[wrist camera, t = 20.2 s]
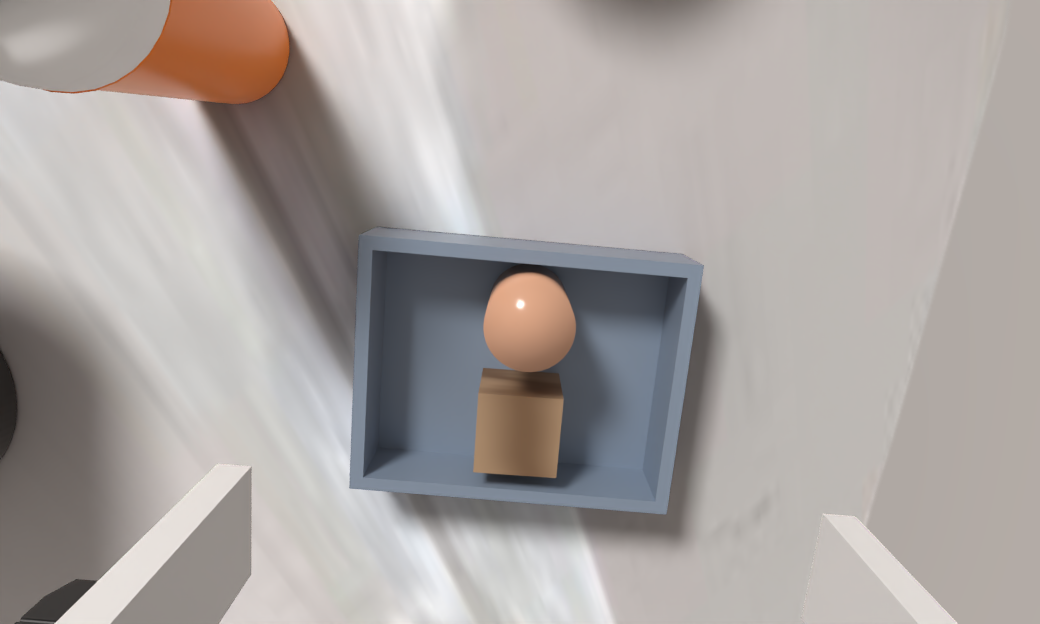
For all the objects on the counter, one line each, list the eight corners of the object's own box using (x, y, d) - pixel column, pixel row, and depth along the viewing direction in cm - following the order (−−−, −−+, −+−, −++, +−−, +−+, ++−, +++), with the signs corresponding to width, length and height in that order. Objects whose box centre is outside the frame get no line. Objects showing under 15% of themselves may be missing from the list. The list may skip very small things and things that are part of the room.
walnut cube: (478, 438, 45) (473, 472, 40) (483, 367, 44) (478, 393, 39) (552, 444, 45) (556, 478, 40) (558, 373, 44) (563, 399, 39)
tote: (367, 453, 46) (349, 488, 41) (377, 226, 42) (358, 234, 37) (651, 477, 46) (666, 514, 41) (682, 254, 43) (703, 265, 38)
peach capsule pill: (486, 335, 43) (479, 367, 36) (492, 259, 42) (487, 278, 35) (562, 342, 43) (570, 375, 36) (571, 267, 42) (580, 286, 35)
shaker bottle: (335, 67, 40) (160, -27, 21) (219, 148, 41) (-52, 133, 22) (245, -70, 39) (-38, -312, 19) (126, 19, 40) (-257, -123, 20)
